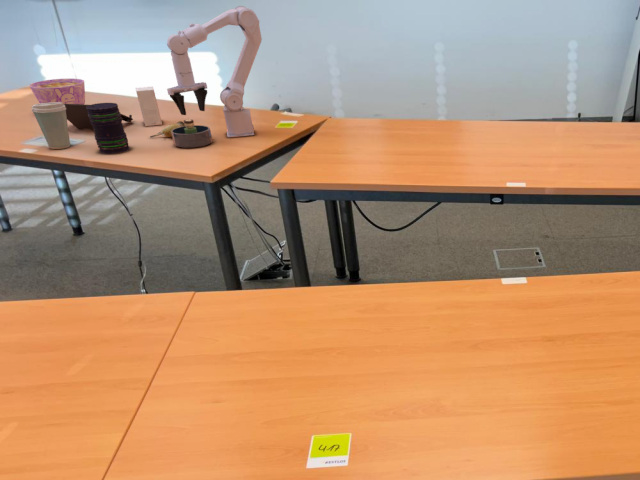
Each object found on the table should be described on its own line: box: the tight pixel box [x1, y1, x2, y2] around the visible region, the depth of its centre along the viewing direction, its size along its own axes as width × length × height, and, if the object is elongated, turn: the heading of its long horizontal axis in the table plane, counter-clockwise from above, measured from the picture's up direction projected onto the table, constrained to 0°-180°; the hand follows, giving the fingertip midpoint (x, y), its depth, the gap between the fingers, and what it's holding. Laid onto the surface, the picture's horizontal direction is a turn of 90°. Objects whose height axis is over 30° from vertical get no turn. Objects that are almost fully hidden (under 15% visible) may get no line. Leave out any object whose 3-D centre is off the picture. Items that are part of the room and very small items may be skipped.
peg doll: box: [183, 118, 197, 134], centre depth 260 cm, size 4×4×8 cm
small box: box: [135, 86, 163, 127], centre depth 284 cm, size 8×6×13 cm
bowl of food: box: [29, 78, 86, 105], centre depth 300 cm, size 20×20×12 cm
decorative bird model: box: [149, 121, 185, 138], centre depth 269 cm, size 4×13×10 cm
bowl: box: [171, 124, 214, 149], centre depth 261 cm, size 13×13×5 cm
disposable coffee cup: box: [30, 102, 71, 150], centre depth 254 cm, size 11×11×15 cm
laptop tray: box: [64, 104, 134, 131], centre depth 279 cm, size 23×23×9 cm
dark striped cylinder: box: [86, 102, 131, 155], centre depth 251 cm, size 10×10×15 cm
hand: (193, 112), depth 262 cm, fingers open, 7 cm apart
